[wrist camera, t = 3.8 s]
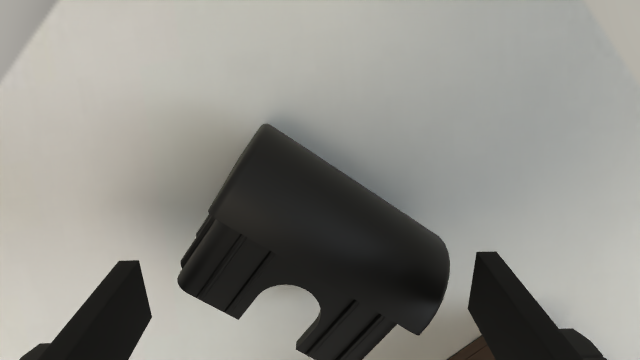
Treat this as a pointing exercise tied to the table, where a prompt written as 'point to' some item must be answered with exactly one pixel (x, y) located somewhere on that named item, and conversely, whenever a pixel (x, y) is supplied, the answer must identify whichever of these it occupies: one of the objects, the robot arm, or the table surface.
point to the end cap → (315, 249)
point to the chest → (475, 351)
